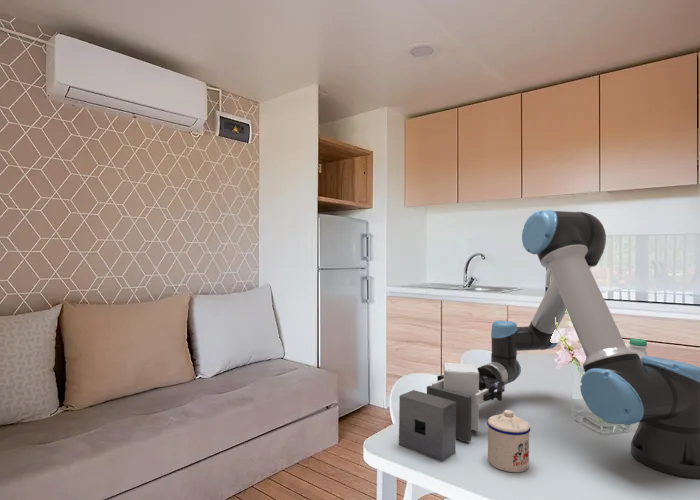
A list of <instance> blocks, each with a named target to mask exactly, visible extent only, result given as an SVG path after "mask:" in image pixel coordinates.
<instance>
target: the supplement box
mask: <svg viewBox="0 0 700 500" xmlns="http://www.w3.org/2000/svg"><path fill="white" fill-rule="evenodd" d="M477 368H478V367H477V364H471V363H455V362H444V363H443V375H444V389H446V390H450V391H454V392H458V393H461V394H465V395H469V396H471V431H479V412H480V411H479V405H478V406H476V405H474V394H476V393H478V392H480V390H479V372H478V369H477Z"/></svg>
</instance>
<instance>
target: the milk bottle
mask: <svg viewBox="0 0 700 500" xmlns="http://www.w3.org/2000/svg"><path fill="white" fill-rule="evenodd" d="M647 344H648V342H647V340H646V339H641V338H630V339H629V346H630V348H629V349H630V350H632V351H634V352H636V353H638V355H639V357H640V359H641V358H642V357H643V356H649V355H648V352H647Z"/></svg>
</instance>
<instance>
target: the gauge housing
mask: <svg viewBox="0 0 700 500" xmlns="http://www.w3.org/2000/svg"><path fill="white" fill-rule="evenodd" d="M398 402H399V405H398V406H399V412H398V415H399V416H398V417H399V418H398V445H399V446H401V447H404V448H406V449H408V450H410V451H413V452H416V453H418V454H421V455H424V456H426V457H429V458H431V459H434V460H437V461H439V462H441V463H442V462H444V461H446V460H447V459H449V458H451V456H453V455H455V454H456V452H457V451H456V447H457V446H456V444H457V443H456V440H457V438H456V402H455V401H452V400H448V399H444V398H441V397H437V396H433V395H430V394H427V392H422V391H418V390H416V389H415V390H414V389H413V390H410V391H408V392H404V393H403V394H400V395H399V401H398Z"/></svg>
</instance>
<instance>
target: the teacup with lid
mask: <svg viewBox="0 0 700 500" xmlns="http://www.w3.org/2000/svg"><path fill="white" fill-rule="evenodd" d="M486 424H487V461H488V462H489V464H490V465H491V466H493V467H494V468H495V469H498V470H501V471H504V472H508V473H522V472H524V471H527V470H528V469H529V466H530V464H529V463H530V458H529V457H530V432H531V427H530V424H529V423H528V422H527V421H526V420H525V419H523V418H521V417H518V416H517V415H514V412H513V411H512V410H510V409H505V410H504V411H503V413H500V414H496V415H492V416H490V417H489V418H488V419H487V422H486Z"/></svg>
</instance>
